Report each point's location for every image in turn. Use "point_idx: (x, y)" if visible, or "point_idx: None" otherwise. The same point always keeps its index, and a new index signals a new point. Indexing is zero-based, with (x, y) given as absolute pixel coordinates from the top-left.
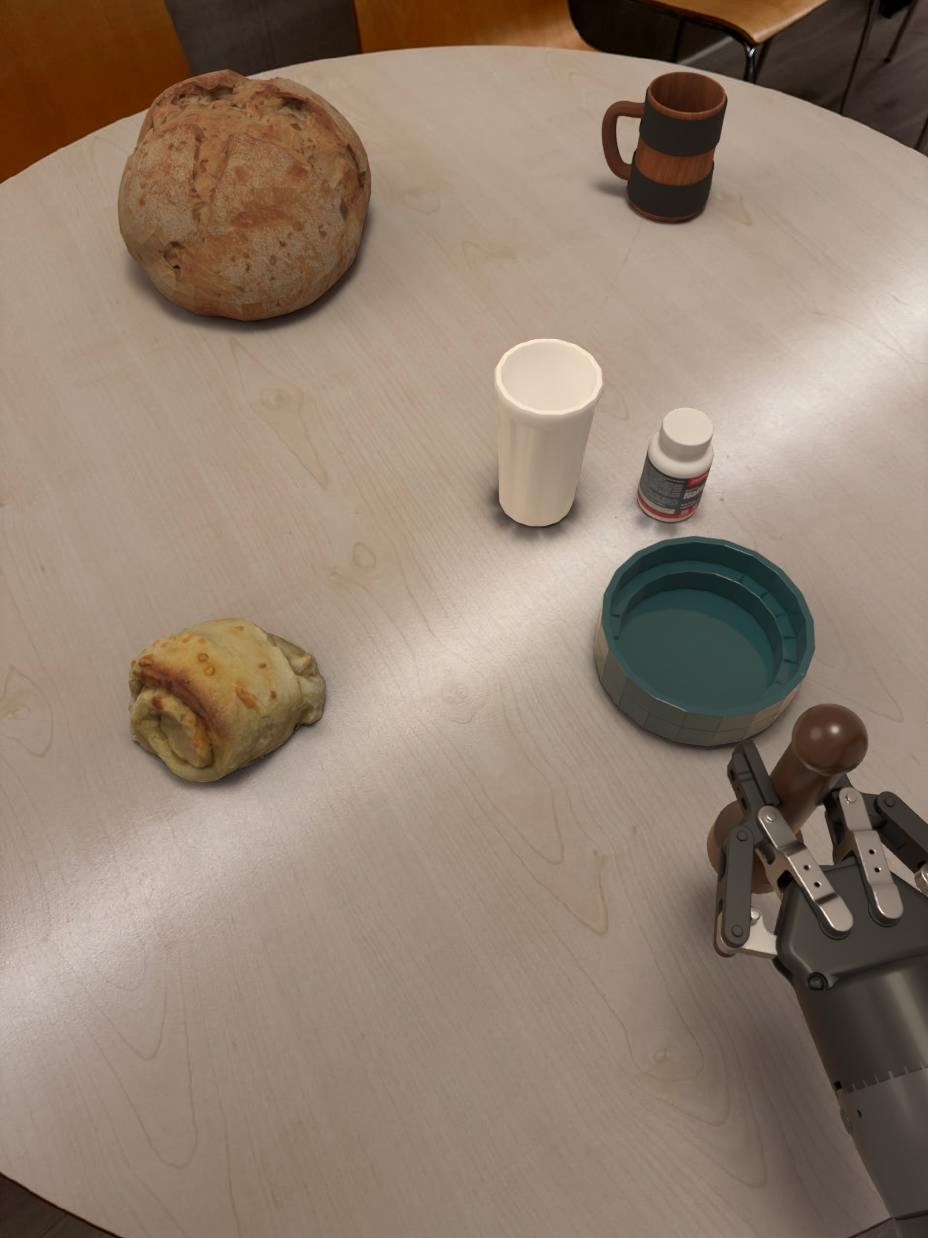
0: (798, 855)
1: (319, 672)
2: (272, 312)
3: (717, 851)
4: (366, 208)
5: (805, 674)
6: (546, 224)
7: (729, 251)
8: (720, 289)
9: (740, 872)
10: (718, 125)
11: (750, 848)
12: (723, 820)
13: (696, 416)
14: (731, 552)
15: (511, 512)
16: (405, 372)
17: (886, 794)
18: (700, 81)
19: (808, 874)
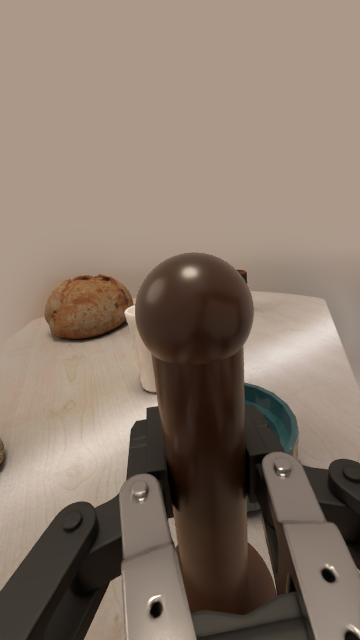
0: (148, 569)
1: (2, 452)
2: (84, 334)
3: None
4: None
5: (292, 448)
6: None
7: (256, 318)
8: (252, 325)
9: (16, 611)
10: (244, 279)
11: (72, 549)
12: (177, 556)
13: None
14: (244, 388)
15: (144, 385)
16: (125, 349)
17: (344, 463)
18: (238, 271)
19: (153, 633)
